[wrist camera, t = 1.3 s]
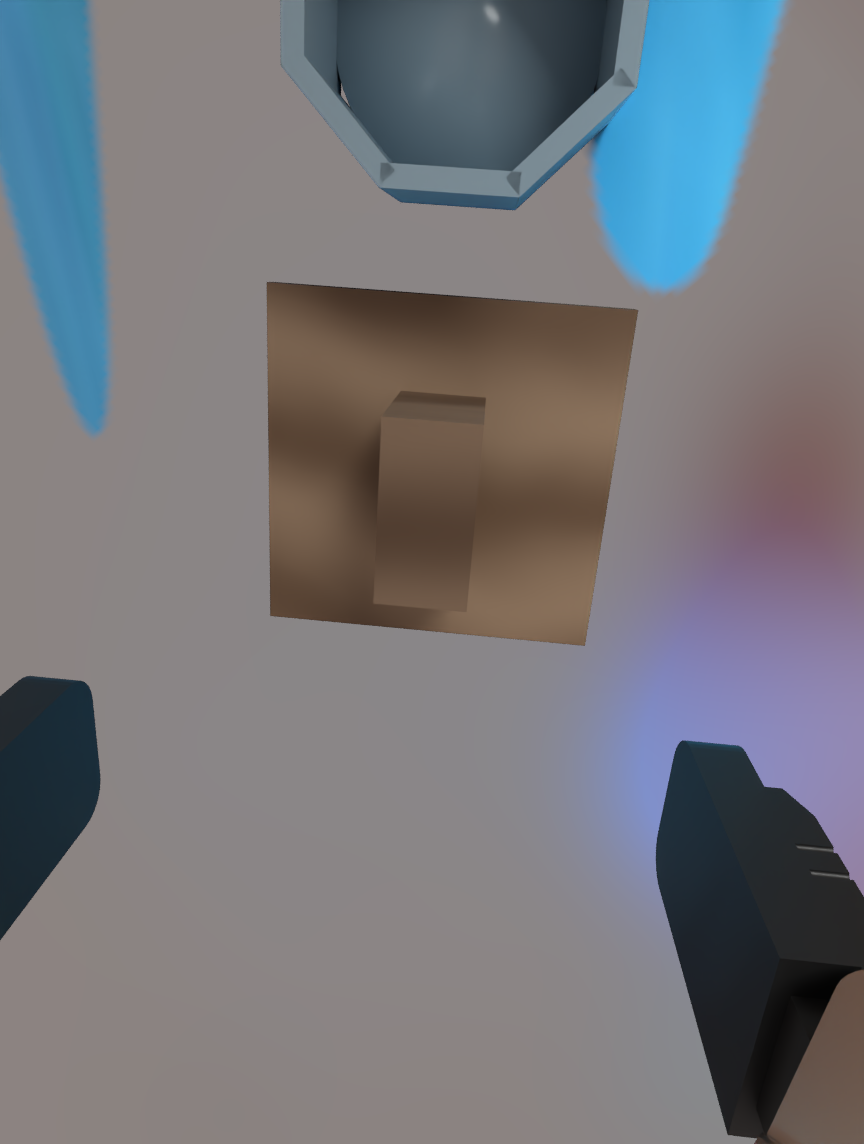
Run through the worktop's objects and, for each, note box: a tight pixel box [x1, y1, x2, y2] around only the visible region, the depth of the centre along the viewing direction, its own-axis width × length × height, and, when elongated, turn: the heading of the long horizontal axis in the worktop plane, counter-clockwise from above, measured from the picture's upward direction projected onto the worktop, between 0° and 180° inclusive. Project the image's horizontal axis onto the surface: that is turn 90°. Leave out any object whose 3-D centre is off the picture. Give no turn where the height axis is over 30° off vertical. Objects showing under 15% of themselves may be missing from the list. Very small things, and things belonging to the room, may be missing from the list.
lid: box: [267, 282, 638, 646], centre depth 26 cm, size 12×12×6 cm
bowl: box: [281, 0, 649, 210], centre depth 21 cm, size 9×9×5 cm
